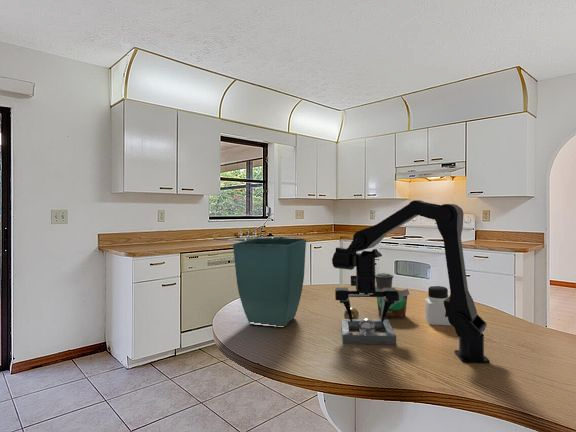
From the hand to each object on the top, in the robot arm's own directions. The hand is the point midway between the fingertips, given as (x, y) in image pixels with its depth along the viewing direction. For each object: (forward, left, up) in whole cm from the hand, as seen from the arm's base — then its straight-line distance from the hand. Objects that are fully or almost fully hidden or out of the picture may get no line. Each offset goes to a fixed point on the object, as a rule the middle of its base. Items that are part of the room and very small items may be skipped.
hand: (366, 321), depth 110 cm
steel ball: (0, 0, -2) cm, 2 cm away
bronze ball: (+12, +4, -2) cm, 13 cm away
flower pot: (+11, +31, -4) cm, 33 cm away
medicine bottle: (+14, -25, -4) cm, 29 cm away
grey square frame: (0, 0, -4) cm, 4 cm away
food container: (+19, -10, -4) cm, 22 cm away
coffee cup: (+48, -12, -4) cm, 50 cm away
